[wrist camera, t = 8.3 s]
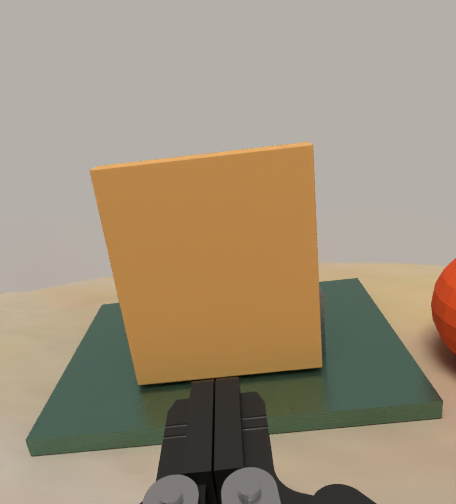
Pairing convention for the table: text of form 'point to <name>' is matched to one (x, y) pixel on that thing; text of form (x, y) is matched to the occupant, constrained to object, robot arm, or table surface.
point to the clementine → (446, 305)
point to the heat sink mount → (241, 383)
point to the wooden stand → (215, 261)
